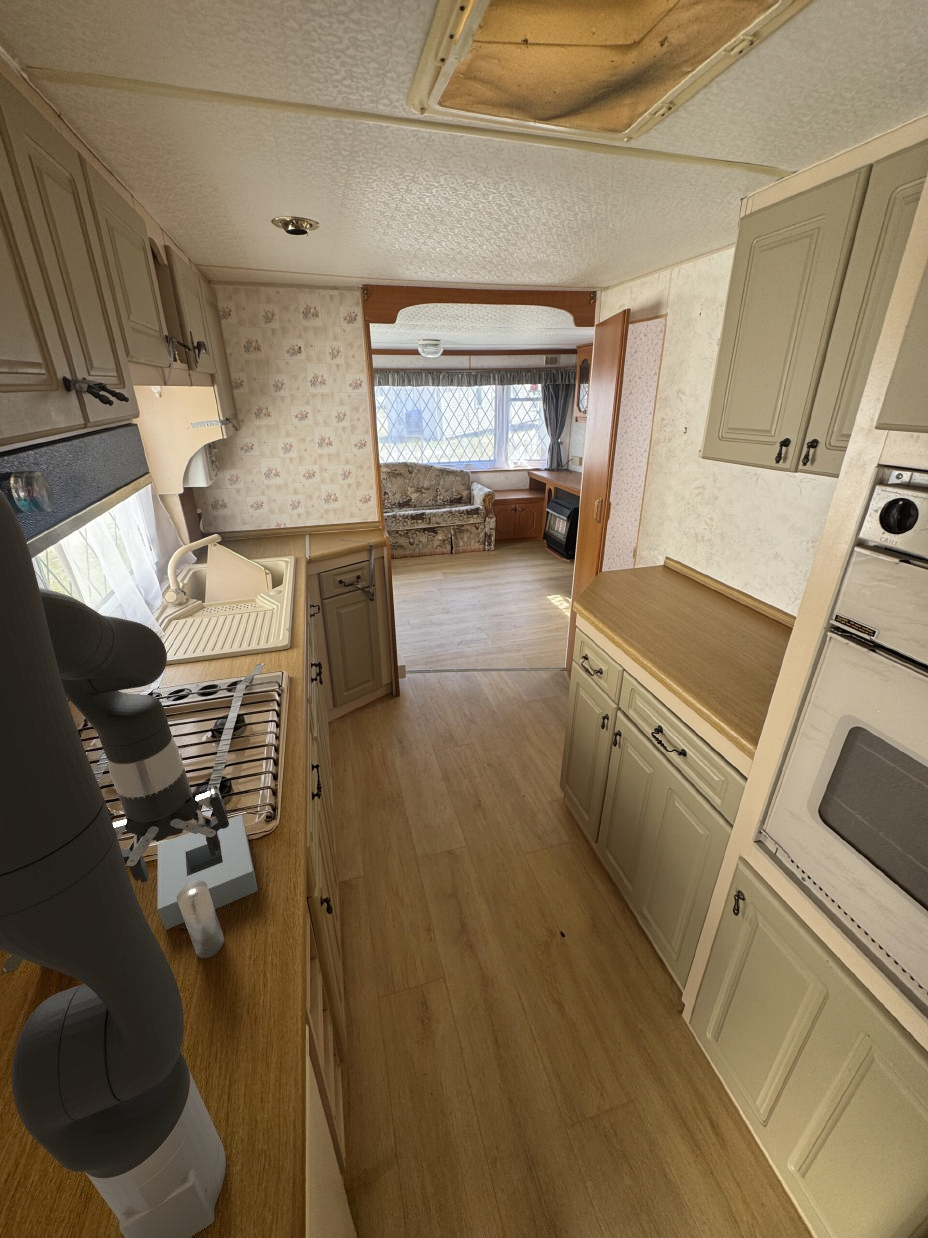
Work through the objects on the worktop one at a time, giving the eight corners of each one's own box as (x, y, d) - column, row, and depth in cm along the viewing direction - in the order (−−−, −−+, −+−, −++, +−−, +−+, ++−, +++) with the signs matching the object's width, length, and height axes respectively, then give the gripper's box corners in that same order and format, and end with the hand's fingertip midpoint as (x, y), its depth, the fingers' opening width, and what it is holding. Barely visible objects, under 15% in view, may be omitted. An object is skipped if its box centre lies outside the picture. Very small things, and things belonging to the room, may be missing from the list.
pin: (225, 950, 77) (208, 897, 72) (196, 963, 75) (177, 910, 70) (222, 927, 80) (206, 876, 75) (195, 939, 79) (176, 887, 74)
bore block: (258, 891, 86) (252, 871, 84) (165, 930, 80) (157, 909, 78) (246, 833, 97) (241, 814, 95) (164, 863, 91) (157, 844, 89)
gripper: (78, 815, 57) (119, 909, 64) (213, 772, 64) (238, 862, 70) (85, 775, 63) (122, 866, 70) (208, 739, 70) (231, 826, 76)
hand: (180, 864), depth 70 cm, fingers open, 8 cm apart
